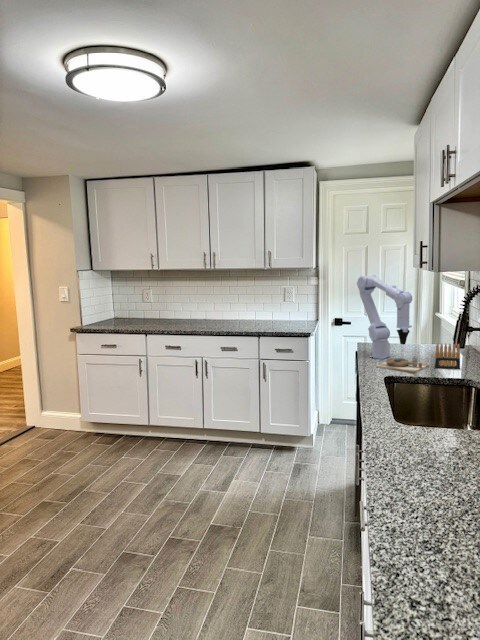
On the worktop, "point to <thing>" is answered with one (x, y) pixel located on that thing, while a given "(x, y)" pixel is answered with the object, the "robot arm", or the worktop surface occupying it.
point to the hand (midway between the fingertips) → (402, 344)
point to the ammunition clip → (445, 361)
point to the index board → (404, 367)
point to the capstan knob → (401, 362)
